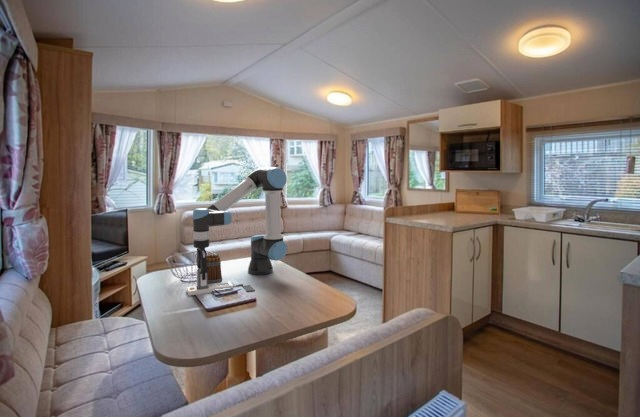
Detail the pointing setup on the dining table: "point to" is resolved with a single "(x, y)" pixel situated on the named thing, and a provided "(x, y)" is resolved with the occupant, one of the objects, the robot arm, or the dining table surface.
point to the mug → (214, 269)
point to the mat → (248, 288)
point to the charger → (200, 280)
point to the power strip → (209, 288)
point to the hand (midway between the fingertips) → (202, 283)
